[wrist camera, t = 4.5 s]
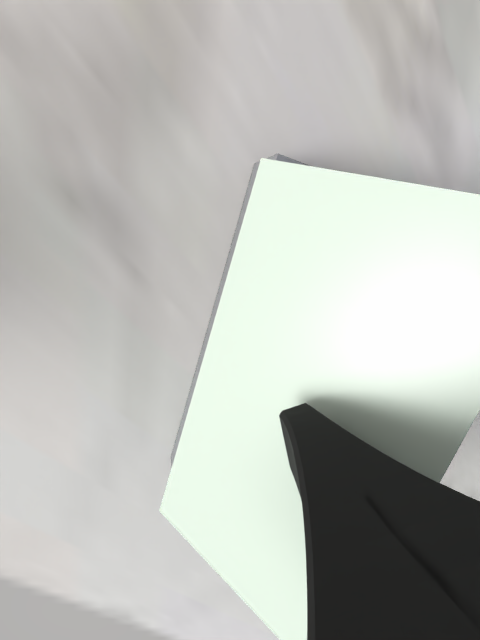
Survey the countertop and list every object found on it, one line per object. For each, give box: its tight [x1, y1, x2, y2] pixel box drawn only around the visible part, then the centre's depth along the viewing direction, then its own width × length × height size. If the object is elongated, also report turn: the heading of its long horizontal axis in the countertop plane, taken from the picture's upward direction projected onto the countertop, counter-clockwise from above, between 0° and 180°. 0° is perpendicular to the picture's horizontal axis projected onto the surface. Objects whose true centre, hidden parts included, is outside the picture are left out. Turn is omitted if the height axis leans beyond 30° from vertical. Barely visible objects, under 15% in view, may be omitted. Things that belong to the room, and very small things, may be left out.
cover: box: [159, 158, 480, 640], centre depth 10 cm, size 7×13×1 cm
